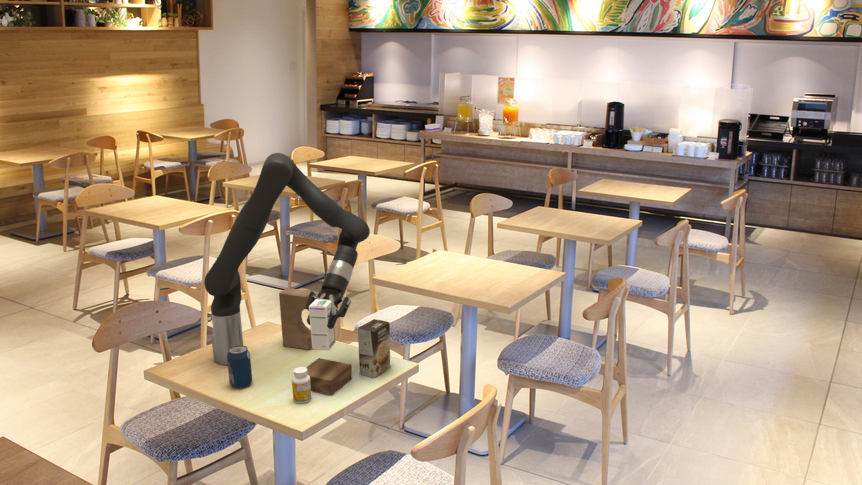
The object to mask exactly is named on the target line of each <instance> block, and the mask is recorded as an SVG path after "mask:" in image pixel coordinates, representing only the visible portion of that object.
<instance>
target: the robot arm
mask: <svg viewBox="0 0 862 485" xmlns="http://www.w3.org/2000/svg"><path fill="white" fill-rule="evenodd" d="M286 187H288V188H289V189H291V191H293V192H294V193H295V194H296V195H297V196H298V197H299V198H300V199H301V200H302V201H303V202H304V204H305V205H306V206H307V207H308V208H309V209H310V210H311V211H312V213H313V214H314V215H316V216H317V217H318V218H319V219H320V220H322V221H323V222H324V223H325V224H327V225H328V226H330V227H332V228H340V229H341V230H340V233H339V235H338V240H337V245H336V246H337V248H336V251H335V254H334V256H333V259H332V261H331V262H330V265H329V267H328V269H327V271H326V275H325V276H324V279H323V281H322V284H321V288H320V291H319V292H315V291H313V290H310V291H311V292H310V295H309V298H308V301H307V304H306V309H305V310H307V311H308V312H309V306H310V305H311V303H313V302H314V301H315V299H327V300H331V301H332V302H331V309H332V315H331V317H330V319H329V322H328V324H327V327H328V328H329V329H332V328H333V327H334V328H335V326H336V324H337V321H338V319H339V318H345V316H346V314H347V312H348V310H349V308H350V305H351V303H352V300H351V299H350V297H348V296H344V295H345V294H346V292H347V289H348V286H349V283H350V281H351V278H352V275H353V270H354V267H355V266H356V262H357V260H358V254H359V253H358V251H357V247H358V245H359V243H360V244H361V243H362V242H365V240H367V239H368V238H369V236H370V233H371V231H370V227H369V225H368V222H366V221H365V220H363V219H362V218H360V216H358V215H356V214H354V213H352V212H350V211H347V210H345V208H343V207H342V206H340V204H338V203H337V202H336V201H334V200H333V199H332V198H331V197H330V196H328V195H327V194H326V192H324V191H322V190H321V189H320V188H319V187H318V186H316V185H315V183H313V182H312V181H311V180H310V179H309V178H308V177H307V176H306V175H305V173H304V172H302V171H301V170H300V168H299V167H298V166H297V165H296V164H295V162H293V161H292V159H291V158H290V157H289V156H288V155H286V154H284V153H281V152H274V153H271V154H269V156H267V157H266V158H265V160H264V162H263V165H262V168H261V171H260V174H259V177H258V179H257V182H256V185H255V188H254V189H253V191H252V194H251V195H250V196H249V198H248V199H247V200H246V202H245V204H244V205H243V206H242V208H241V209H240V210H239V212H238V214H237V216H236V218H235V220H234V222H233V223H232V225H231V228H230V230H229V232H228V234H227V237H226V239H225V241H224V244H223V246H222V249H221V250H220V253H219V255H218V256H217V258H216V260H215V261H214V262H213V264H212V266H211V267H210V269H209V270H208V271H207V273H206V274H205V276H204V283H203V284H204V288H205V289H204V290H206V292H207V293H208V294H209V295H211V296H212V297H213V299H212V302H211V305H210V312H211V313H210V314H211V322H212V324H211V325H212V333H211V335H210V336H211V337H210V338H211V347H212V355H213V361H215V362H216V363H217V364H218V365H224V366H228V362H227V354H228V352H229V351H228V350H229V349H230V348H231V347H234V346H239V345H242V346H244V337H243V326H242V314H241V303H242V285H241V275H240V272H239V268H240V266H241V265H242V263H243V262H244V260H245V259H246V258H247V257H248V255H250V253H251V251H253V249H254V248H255V246H256V244H258V242H259V240H260V238H261V236H262V234H263V233H264V231H265V229H266V227H267V224H268V223H269V219H270V217H271V214H272V210H273V208H274V206H275V204H276V202H277V200H278V199H279V198H280V195H281V194H282V193H283V192H284V190H285V188H286ZM339 304H341V305H340V307H339ZM306 323H307V325H309V326H310V317H309V314H308V315H307V318H306Z"/></svg>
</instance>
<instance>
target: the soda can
mask: <svg viewBox="0 0 862 485" xmlns="http://www.w3.org/2000/svg"><path fill="white" fill-rule="evenodd" d="M228 351H229V352H228V354H227V362H228V365H227V371H228V381H229V384H230V386H231V387H232V388H234V389H245V388H247V387H249V386H250V385H251V383H252V381H253V374H252V371H253V370H252V360H251V359H252V358H251V352H250V351H249V349H248V346H246V345H243V346H242V345H239V346H234V347H231V348H230V349H229V350H228Z"/></svg>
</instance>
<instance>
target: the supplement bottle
mask: <svg viewBox="0 0 862 485" xmlns="http://www.w3.org/2000/svg"><path fill="white" fill-rule="evenodd" d="M291 385H292V398H293V399H292V400H293V401H294V402H295V403H297V404H305V403H308V402H310V401H311V400H312V391H311V382H310V376H309V375H308V371H307V368H306V366H299V367H296V368H294V369H293V376H292V378H291Z"/></svg>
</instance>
